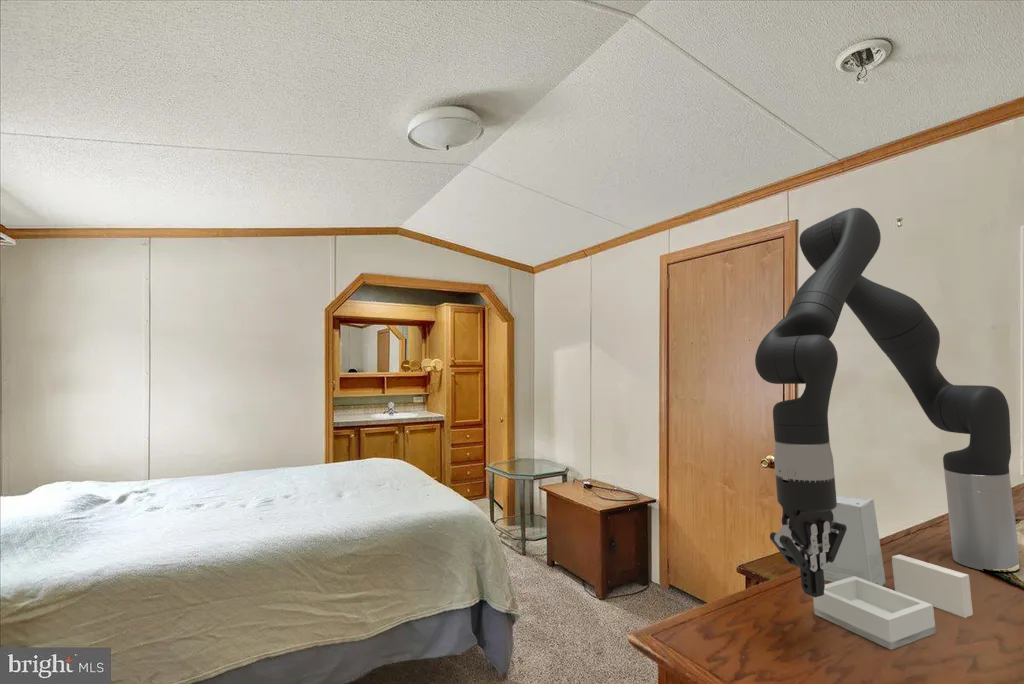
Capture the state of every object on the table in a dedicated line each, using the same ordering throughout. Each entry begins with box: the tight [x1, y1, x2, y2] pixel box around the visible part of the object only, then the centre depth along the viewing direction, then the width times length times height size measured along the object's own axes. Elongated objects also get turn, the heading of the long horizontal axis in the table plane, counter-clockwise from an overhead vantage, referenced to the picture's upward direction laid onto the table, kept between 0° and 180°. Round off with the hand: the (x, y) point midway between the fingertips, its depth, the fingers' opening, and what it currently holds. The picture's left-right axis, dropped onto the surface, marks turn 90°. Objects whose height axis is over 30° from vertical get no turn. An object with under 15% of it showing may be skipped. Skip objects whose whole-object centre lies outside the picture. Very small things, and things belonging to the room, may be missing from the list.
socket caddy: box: [812, 576, 937, 651], centre depth 78 cm, size 10×12×4 cm
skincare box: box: [823, 494, 887, 587], centre depth 92 cm, size 8×6×15 cm
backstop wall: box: [891, 553, 974, 619], centre depth 83 cm, size 2×10×6 cm, turn 21°
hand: (813, 594), depth 74 cm, fingers closed
